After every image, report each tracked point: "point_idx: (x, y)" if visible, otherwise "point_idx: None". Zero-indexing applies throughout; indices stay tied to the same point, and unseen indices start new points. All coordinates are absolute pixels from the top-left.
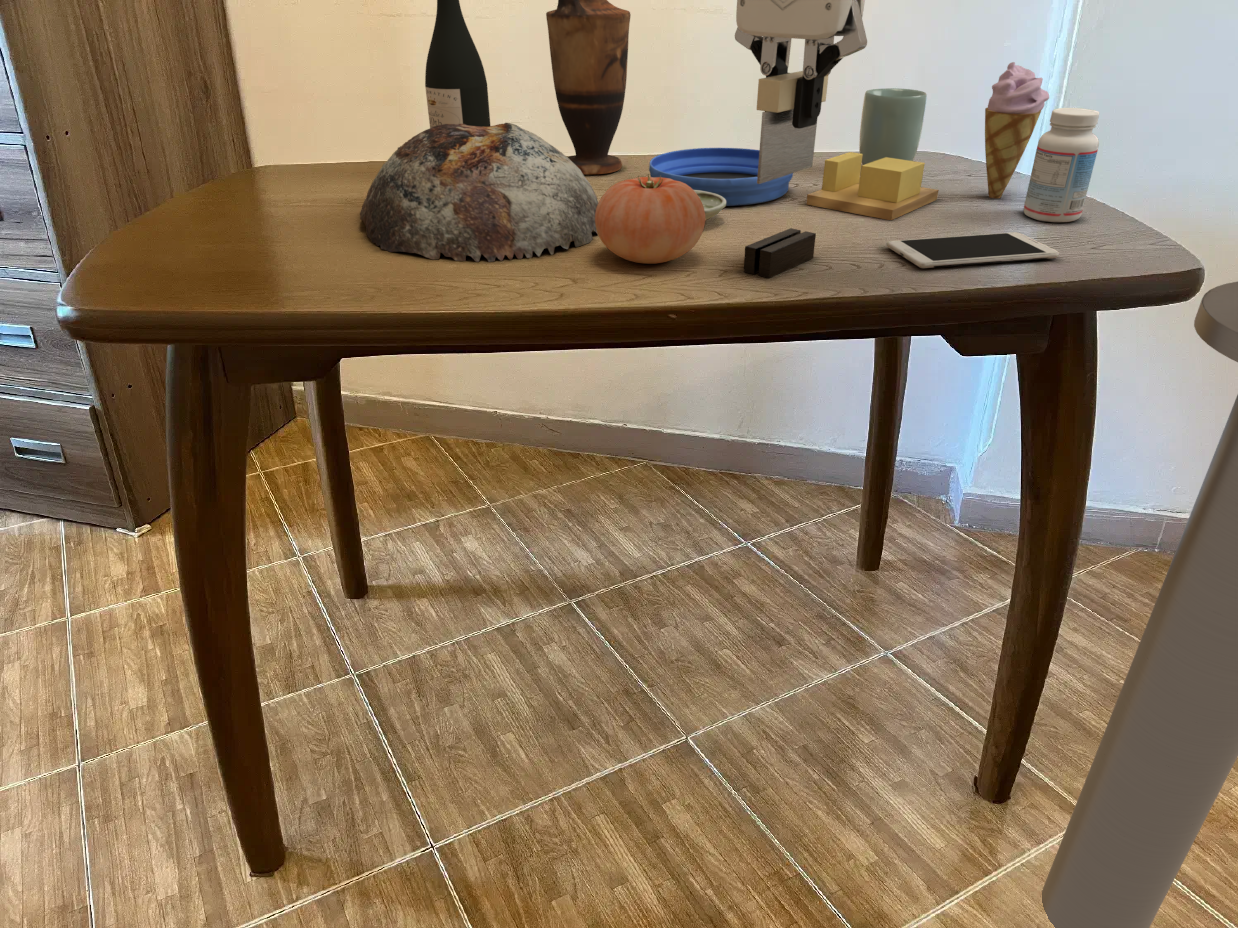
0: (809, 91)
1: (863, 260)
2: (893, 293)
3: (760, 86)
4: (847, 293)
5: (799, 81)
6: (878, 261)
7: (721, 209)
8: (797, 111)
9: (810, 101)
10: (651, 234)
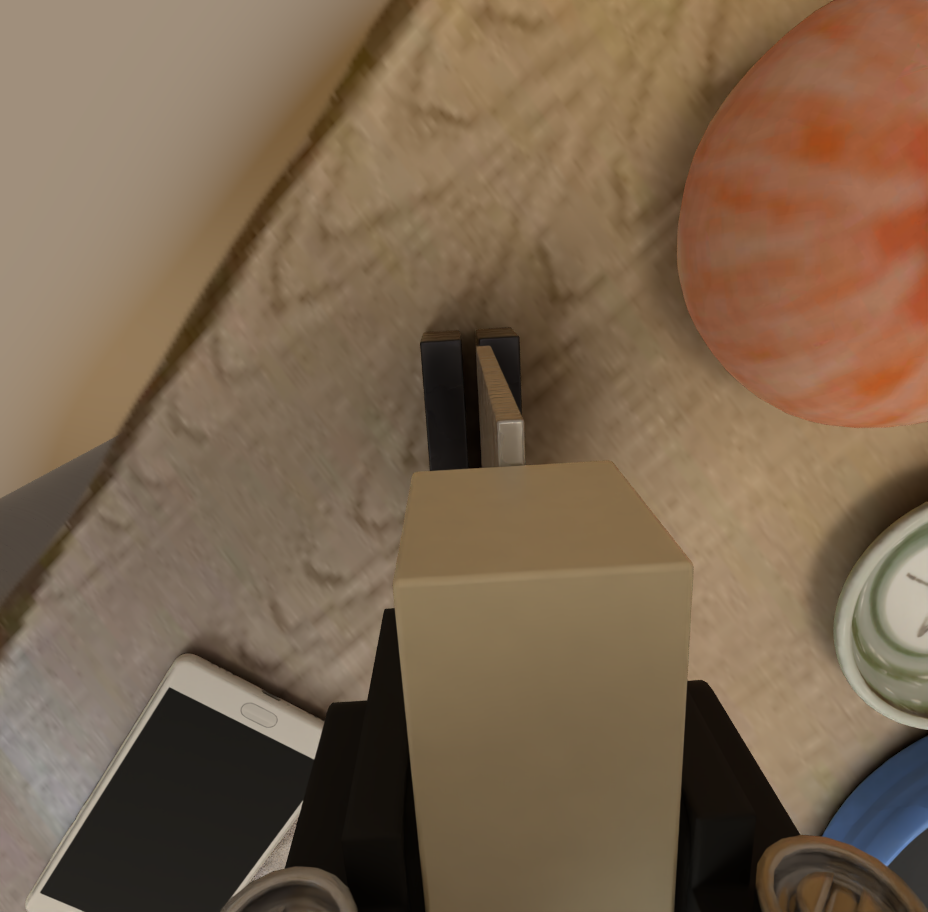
0: (333, 819)
1: (338, 625)
2: (124, 464)
3: (641, 537)
4: (200, 383)
5: (374, 823)
6: (306, 642)
7: (834, 639)
8: (391, 657)
9: (329, 763)
10: (769, 51)
